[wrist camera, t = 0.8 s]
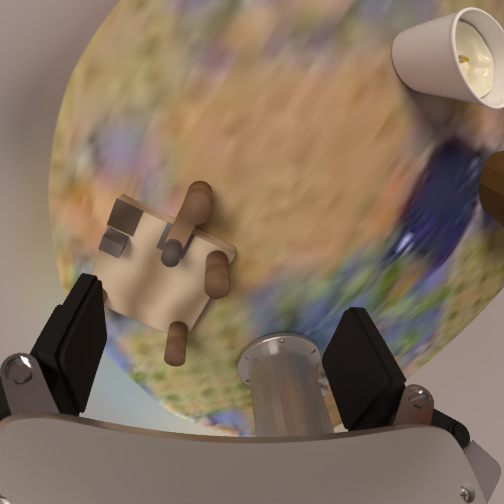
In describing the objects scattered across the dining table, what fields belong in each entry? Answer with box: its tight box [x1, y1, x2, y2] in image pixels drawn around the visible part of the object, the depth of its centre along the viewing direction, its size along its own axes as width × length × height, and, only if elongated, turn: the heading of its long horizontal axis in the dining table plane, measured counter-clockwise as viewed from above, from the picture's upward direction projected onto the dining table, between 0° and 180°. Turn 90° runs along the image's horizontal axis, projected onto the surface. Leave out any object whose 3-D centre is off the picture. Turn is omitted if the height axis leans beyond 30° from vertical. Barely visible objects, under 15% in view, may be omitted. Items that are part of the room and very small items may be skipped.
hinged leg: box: [161, 181, 212, 267], centre depth 28 cm, size 8×2×6 cm, turn 150°
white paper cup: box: [391, 8, 504, 109], centre depth 21 cm, size 10×10×12 cm
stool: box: [92, 194, 236, 366], centre depth 32 cm, size 14×14×8 cm
